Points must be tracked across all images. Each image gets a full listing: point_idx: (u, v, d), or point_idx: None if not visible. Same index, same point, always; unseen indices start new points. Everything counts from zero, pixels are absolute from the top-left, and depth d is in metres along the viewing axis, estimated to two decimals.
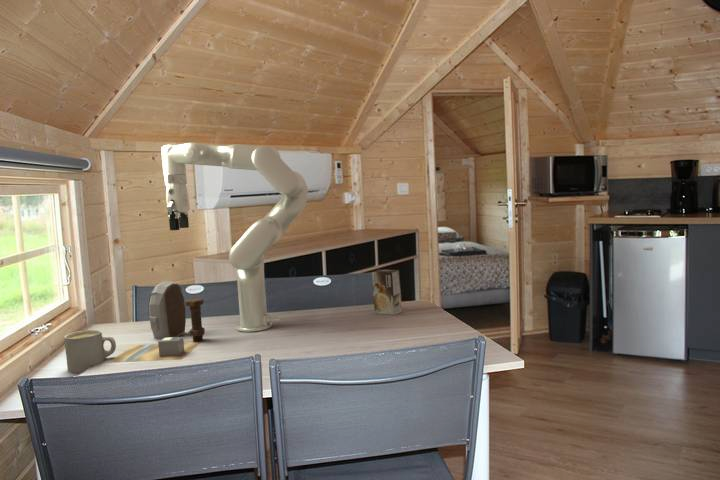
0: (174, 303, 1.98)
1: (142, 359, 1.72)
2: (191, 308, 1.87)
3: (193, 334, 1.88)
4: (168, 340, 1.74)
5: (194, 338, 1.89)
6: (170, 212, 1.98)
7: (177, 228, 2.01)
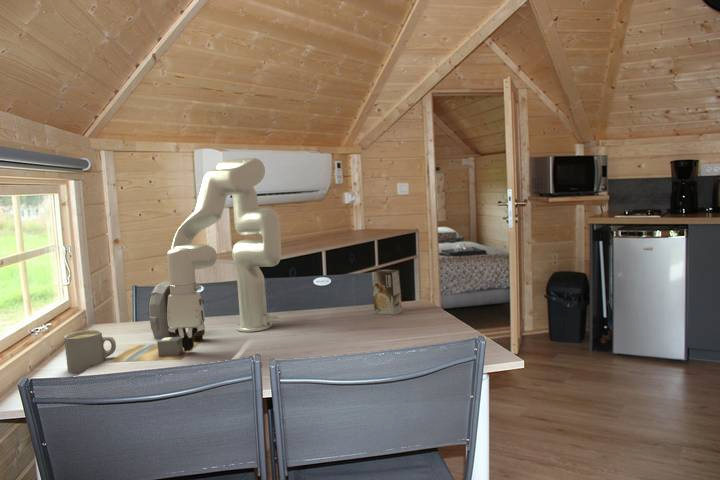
0: None
1: (142, 359, 1.72)
2: None
3: None
4: (167, 340, 1.74)
5: (194, 338, 1.89)
6: None
7: (192, 347, 1.77)
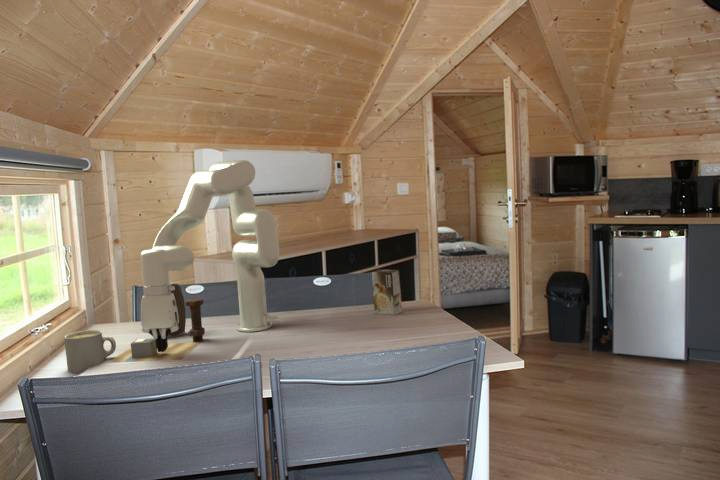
0: None
1: (142, 359, 1.72)
2: (191, 308, 1.87)
3: (193, 334, 1.88)
4: (141, 342, 1.74)
5: (194, 338, 1.89)
6: None
7: (166, 347, 1.77)
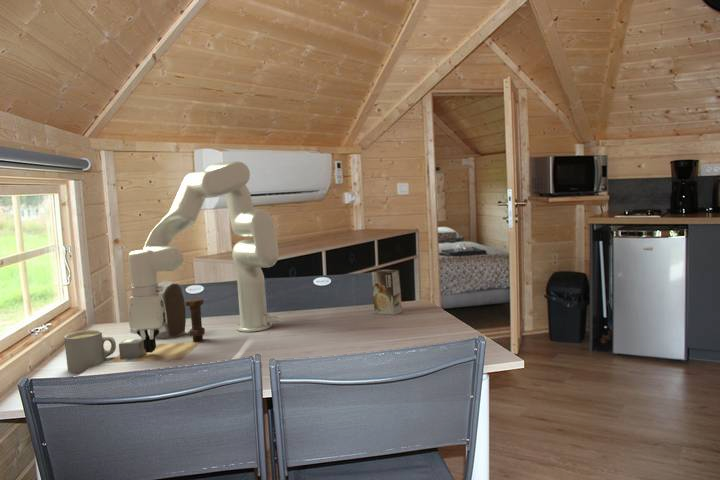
0: (174, 303, 1.98)
1: (142, 359, 1.72)
2: (191, 308, 1.87)
3: (193, 334, 1.88)
4: (129, 342, 1.74)
5: (194, 338, 1.89)
6: None
7: (154, 348, 1.77)
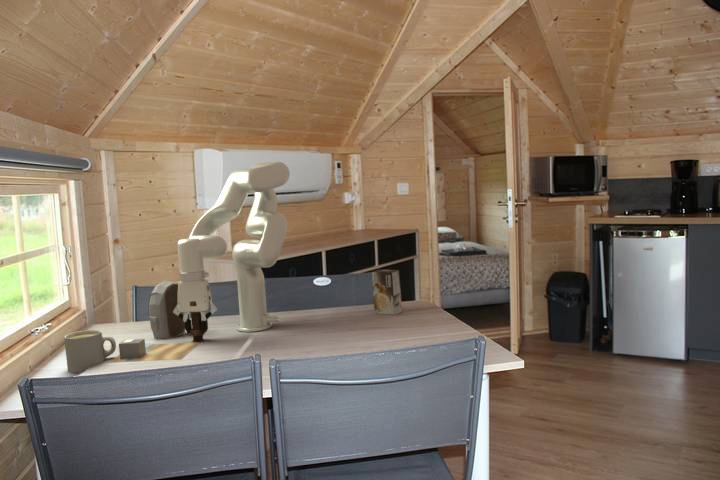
0: (174, 303, 1.98)
1: (142, 359, 1.72)
2: None
3: (193, 334, 1.88)
4: (129, 342, 1.74)
5: (194, 338, 1.89)
6: None
7: (206, 329, 1.90)
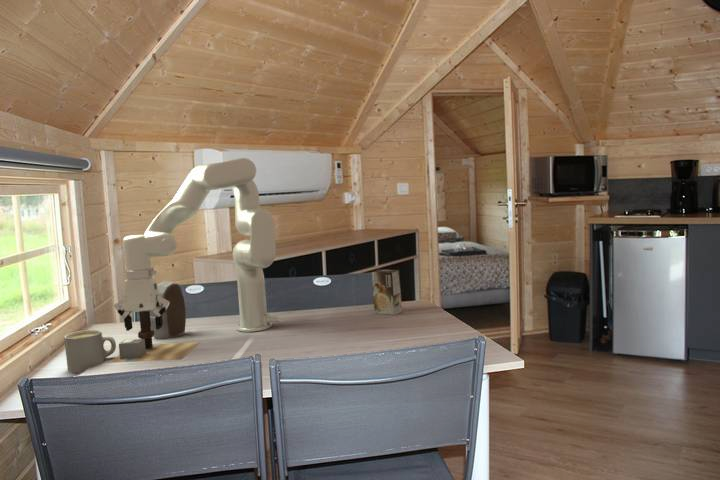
0: (174, 303, 1.98)
1: (142, 359, 1.72)
2: None
3: (141, 336, 1.82)
4: (129, 342, 1.74)
5: None
6: (166, 308, 1.83)
7: (161, 325, 1.84)
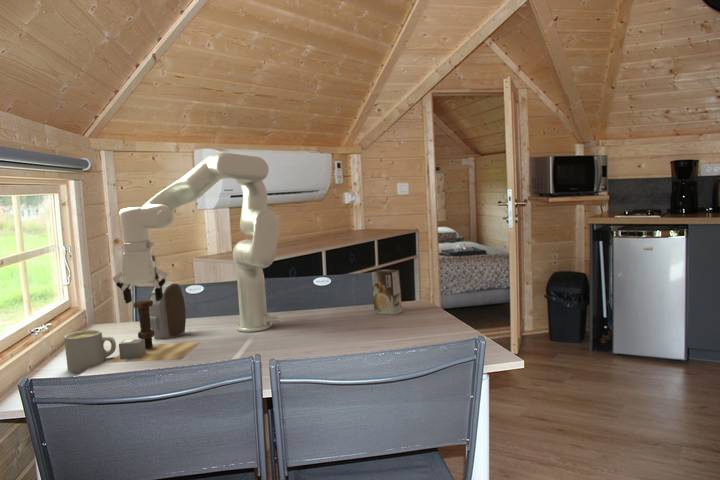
0: (174, 303, 1.98)
1: (142, 359, 1.72)
2: (139, 310, 1.82)
3: (141, 336, 1.82)
4: (129, 342, 1.74)
5: None
6: (166, 279, 1.82)
7: (161, 297, 1.84)
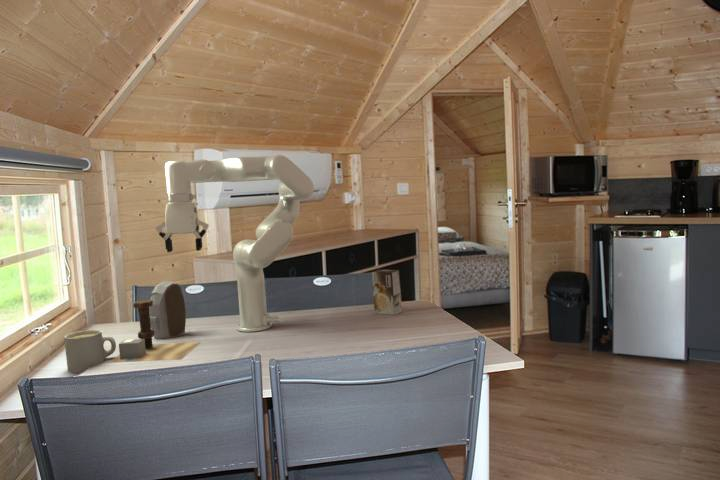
0: (174, 303, 1.98)
1: (142, 359, 1.72)
2: (139, 310, 1.82)
3: (141, 336, 1.82)
4: (129, 342, 1.74)
5: None
6: (206, 230, 1.92)
7: (200, 248, 1.94)
